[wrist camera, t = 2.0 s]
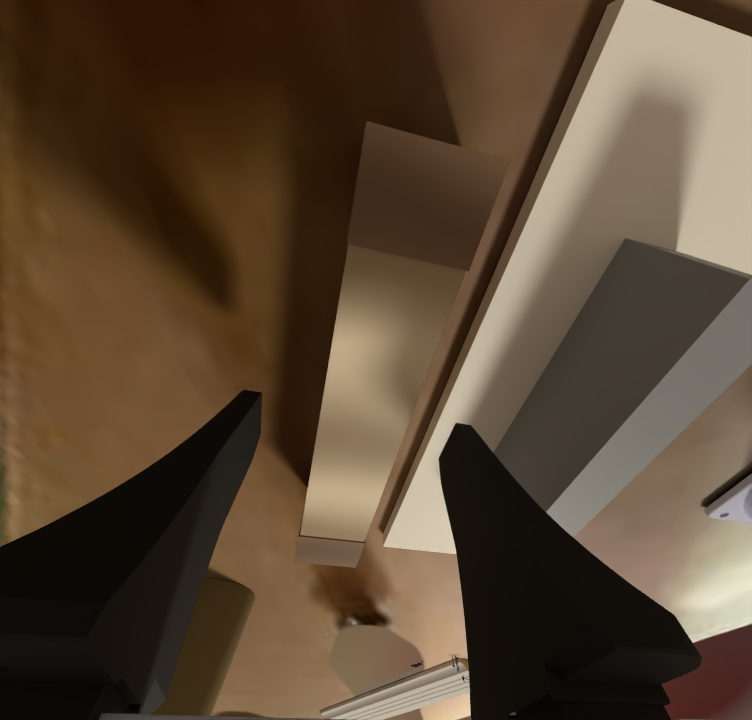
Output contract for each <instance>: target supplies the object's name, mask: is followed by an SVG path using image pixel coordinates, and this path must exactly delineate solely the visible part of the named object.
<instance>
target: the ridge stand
mask: <svg viewBox="0 0 752 720" xmlns="http://www.w3.org/2000/svg"><path fill="white" fill-rule="evenodd" d="M751 364H752V37H750V36H747V35H745V34H742V33H739V32H736V31H734V30H731V29H728V28H725V27H723V26H720V25H717V24H714V23H712V22H709V21H706V20H704V19H701V18H698V17H695V16H693V15H690V14H687V13H684V12H682V11H679V10H676V9H673V8H671V7H668V6H665V5H662V4H660V3H657V2H654V1H652V0H615V1H613V2H612V3H610V4H609V5H607V8H606V10H605V12H604V15H603V17H602V19H601V22H600V24H599V26H598V29H597V31H596V34H595V36H594V38H593V41H592V43H591V45H590V48H589V50H588V52H587V55H586V57H585V59H584V62H583V64H582V66H581V69H580V71H579V74H578V76H577V78H576V81H575V83H574V85H573V88H572V90H571V92H570V95H569V97H568V99H567V102H566V104H565V106H564V109H563V111H562V114H561V116H560V118H559V121H558V123H557V125H556V128H555V130H554V132H553V135H552V137H551V139H550V142H549V144H548V147H547V149H546V151H545V154H544V156H543V158H542V161H541V163H540V165H539V168H538V170H537V172H536V175H535V177H534V179H533V182H532V184H531V187H530V189H529V191H528V194H527V196H526V198H525V201H524V203H523V205H522V208H521V210H520V212H519V215H518V217H517V219H516V222H515V224H514V227H513V229H512V231H511V234H510V236H509V238H508V241H507V243H506V245H505V248H504V250H503V252H502V255H501V257H500V259H499V262H498V264H497V267H496V269H495V271H494V274H493V276H492V278H491V281H490V283H489V285H488V288H487V290H486V292H485V295H484V297H483V299H482V302H481V304H480V307H479V309H478V311H477V314H476V316H475V318H474V321H473V323H472V325H471V328H470V330H469V332H468V335H467V337H466V340H465V342H464V344H463V347H462V349H461V351H460V354H459V356H458V358H457V361H456V363H455V365H454V368H453V370H452V372H451V375H450V377H449V380H448V382H447V384H446V387H445V389H444V391H443V394H442V396H441V398H440V401H439V403H438V405H437V408H436V410H435V412H434V415H433V417H432V420H431V422H430V424H429V427H428V429H427V431H426V434H425V436H424V438H423V441H422V443H421V445H420V448H419V450H418V452H417V455H416V457H415V460H414V462H413V464H412V467H411V469H410V471H409V474H408V476H407V478H406V481H405V483H404V485H403V488H402V490H401V493H400V495H399V497H398V500H397V502H396V504H395V507H394V509H393V511H392V514H391V516H390V518H389V521H388V523H387V525H386V528H385V530H384V533H383V547H393V548H402V549H412V550H422V551H432V552H441V553H451V554H456V548H455V543H454V539H453V535H452V530H451V526H450V522H449V517H448V513H447V509H446V504H445V500H444V496H443V491H442V486H441V479H440V470H439V456H440V454H441V452H442V450H443V448H444V446H445V444H446V442H447V440H448V438H449V436H450V434H451V432H452V430H453V427H454V425H455V423H461V424H467V425H471V426H472V427H473V428H474V429H475V430H476V432H477V433H478V434H479V435H480V437H481V438H482V439H483V440H484V442H485V443H486V444H487V445H488V447H489V448H490V449H491V450H492V452H493V453H494V454H495V455H496V457H497V458H498V459H499V460H500V462H501V463H502V464H503V465H504V466H505V468H506V469H507V470H508V471H509V472H510V474H511V475H512V476H513V477H514V478H515V479H516V481H517V482H518V483H519V484H520V485H521V486H522V487H523V488H524V490H525V491H526V492H527V493H528V494H529V495H530V496H531V497H532V498H533V499H534V500H535V501H536V503H537V504H538V505H539V506H540V507H541V508H542V509H543V510H544V511H545V512H546V513H547V514H548V515H549V516H551V517H552V518H553V519H554V520H555V521H556V522H557V523H558V524H559V525H560V526H561V527H562V528H563V529H564V530H565V531H566V532H567V533H569V534H570V535H571V536H572V537H574V536H575V535H576V534H577V533H578V532H579V531H580V530H581V529H582V528H583V527H584V526H585V525H586V524H587V523H588V522H589V521H590V520H591V519H592V518H593V517H595V516H596V515H597V514H598V513H599V512H600V511H601V510H602V509H603V508H604V507H605V506H606V505H607V504H608V503H609V502H610V501H611V500H612V499H613V498H614V497H615V496H616V495H617V494H618V493H619V492H620V491H621V490H622V489H623V488H624V487H625V486H626V485H627V484H628V483H630V482H631V481H632V480H633V479H634V478H635V477H636V476H637V475H638V474H639V473H640V472H641V471H642V470H643V469H644V468H645V467H646V466H647V465H648V464H649V463H650V462H651V461H652V460H653V459H654V458H655V457H656V456H657V455H658V454H659V453H660V452H661V451H662V450H663V449H665V448H666V447H667V446H668V445H669V444H670V443H671V442H672V441H673V440H674V439H675V438H676V437H677V436H678V435H679V434H680V433H681V432H682V431H683V430H684V429H685V428H686V427H687V426H688V425H689V424H690V423H691V422H692V421H693V420H694V419H695V418H696V417H697V416H698V415H700V414H701V413H702V412H703V411H704V410H705V409H706V408H707V407H708V406H709V405H710V404H711V403H712V402H713V401H714V400H715V399H716V398H717V397H718V396H719V395H720V394H721V393H722V392H723V391H724V390H725V389H726V388H727V387H728V386H729V385H730V384H731V383H732V382H734V381H735V380H736V379H737V378H738V377H739V376H740V375H741V374H742V373H743V372H744V371H745V370H746V369H747V368H748V367H749V366H750V365H751Z"/></svg>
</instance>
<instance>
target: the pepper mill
mask: <svg viewBox="0 0 752 720" xmlns="http://www.w3.org/2000/svg"><path fill="white" fill-rule="evenodd" d="M254 601H255V595H254V594H253V593H252V591H251V590H250V589H248V588H246V587H245V586H243V585H240V584H238V583H235V582H232V581H227V580H222V579H204V581H203V584H202V587H201V590H200V593H199V596H198V599H197V602H196V605H195V608H194V611H193V614H192V617H191V620H190V624H189V627H188V630H187V633H186V636H185V639H184V642H183V646H182V649H181V652H180V656H179V659H178V662H177V665H176V669H175V672H174V675H173V679H172V682H171V685H170V689H169V692H168V695H167V699H166V700H165V701H164V702H163V703H162V704H161V705H160V707H158V708H157V709H156V710H155V711H154V712H153V713H151V714H152V715H192V716H211V714H212V711H213V708H214V706H215V703H216V701H217V698H218V695H219V693H220V690H221V687H222V685H223V682H224V680H225V677H226V674H227V672H228V669H229V666H230V664H231V661H232V658H233V656H234V653H235V651H236V648H237V645H238V643H239V640H240V637H241V635H242V632H243V630H244V627H245V624H246V622H247V619H248V616H249V614H250V611H251V608H252V606H253V603H254Z"/></svg>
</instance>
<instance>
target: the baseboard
mask: <svg viewBox="0 0 752 720" xmlns="http://www.w3.org/2000/svg"><path fill="white" fill-rule="evenodd" d="M455 658H457V657H455ZM452 659H453V656H452ZM421 662H424V661H421ZM420 665H423V663H418V664H414V665H411V666H412V667H418V666H420ZM467 693H470V685H469V668H468V661H467V660H463V659H460V658H457V659H455V660H452V661H449V662H447V663H444V664H442V665H439V666H436V667H434V668H431V669H428V670H426V671H425V666H422V667H419V668H417V669H414V670H412V671H409V672H407V673H404V674H401V675H399V676H396V677H394V678H391V679H389V680H386V681H384V682H381V683H379V684H376V685H373V686H371V687H368V688H366V689H363V690H361V691H358V692H355V693H353V695H354V696H355V698H352V699H350V700H347V701H344V702H342V703H339V704H337V705H334V706H331V707H329V708H326V709H323V710H321V711H320V714H322V715H323V716H324V717H325V719H350V720H383V719H386V718H389V717H392V716H396V715H398V714H402V713H405V712H408V711H412V710H415V709H418V708H421V707H425V706H428V705H431V704H434V703H438V702H441V701H444V700H447V699H451V698H454V697H457V696H460V695H464V694H467Z"/></svg>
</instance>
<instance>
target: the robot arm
mask: <svg viewBox="0 0 752 720" xmlns="http://www.w3.org/2000/svg"><path fill="white" fill-rule="evenodd" d="M261 406H262V393H261V392H254V391H248V390H243V391H242V392H240V393H239V394H238V395H237V396H236V397H235V398H234V399H233V400H232V401H231V402H230V403H229V404H228V405H227V406H226V407H224V408H223V409H222V410H221V411H220V412H219V413H218V414H217V415H216V416H214V417H213V418H212V419H211V420H210V421H209V422H207V423H206V424H205V425H204V426H203V427H202V428H200V429H199V430H198V431H197V432H196V433H194V434H193V435H192V436H190V437H189V438H188V439H187V440H185V441H184V442H183V443H181V444H180V445H179V446H178V447H176V448H175V449H174V450H172V451H171V452H170V453H168V454H167V455H165V456H164V457H163V458H161V459H160V460H158V461H157V462H155V463H154V464H152V465H151V466H149V467H148V468H146V469H145V470H143V471H142V472H140V473H139V474H137V475H136V476H134V477H132V478H131V479H129V480H127V481H126V482H124V483H123V484H121V485H119V486H118V487H116V488H114V489H113V490H111V491H109V492H108V493H106V494H104V495H102V496H101V497H99V498H97V499H95V500H93V501H92V502H90V503H88V504H86V505H84V506H82V507H80V508H78V509H77V510H75V511H73V512H71V513H69V514H67V515H65V516H63V517H62V518H60V519H58V520H56V521H54V522H52V523H50V524H48V525H46V526H44V527H42V528H40V529H38V530H36V531H34V532H32V533H29V534H27V535H25V536H23V537H21V538H19V539H16V540H14V541H12V542H10V543H8V544H6V545H3V546H1V547H0V720H350V719H310V718H271V717H231V716H192V715H152V714H151V713H153V712H154V711H155V710H156V709H157V708H158V707H160V705H161V704H162V703H163V702H164V701H165V700H166V699H167V695H168V692H169V689H170V685H171V682H172V679H173V675H174V672H175V669H176V665H177V662H178V659H179V656H180V652H181V649H182V646H183V642H184V639H185V636H186V633H187V630H188V627H189V624H190V620H191V617H192V614H193V611H194V608H195V605H196V602H197V599H198V596H199V593H200V590H201V587H202V584H203V581H204V578H205V575H206V572H207V569H208V566H209V563H210V560H211V557H212V554H213V551H214V548H215V546H216V543H217V540H218V537H219V534H220V532H221V529H222V527H223V524H224V522H225V519H226V517H227V515H228V513H229V511H230V508H231V506H232V504H233V502H234V500H235V497H236V495H237V493H238V491H239V489H240V486H241V484H242V482H243V480H244V477H245V475H246V473H247V471H248V468H249V466H250V464H251V462H252V459H253V456H254V453H255V450H256V447H257V444H258V440H259V437H260V434H261ZM439 470H440V479H441V486H442V491H443V496H444V500H445V504H446V509H447V513H448V517H449V522H450V526H451V530H452V535H453V539H454V543H455V548H456V554H457V559H458V567H459V574H460V582H461V590H462V599H463V608H464V617H465V628H466V640H467V652H468V668H469V685H470V706H471V719H472V720H671V719H670V717H669V715H668V713H667V711H666V709H665V708H664V706H663V705H668V704H670V702H669V698H668V696H667V694H666V693H665V691H664V689H663V687H662V685H661V684H662V683H665V682H668V681H670V680H672V679H675V678H677V677H680V676H682V675H684V674H687V673H689V672H691V671H693V670H695V669H696V668H697V667H699V666H700V663H701V659H702V657H701V655H700V654H699V652H698V651H697V649H696V648H695V646H694V644H693V643H692V641H691V640H690V638H689V637H688V635H687V634H686V632H685V631H684V629H683V628H682V626H681V625H680V623H679V621H678V620H677V618H676V617H675V616H674V615H673V614H672V613H671V612H669V611H668V610H666V609H665V608H664V607H662V606H661V605H659V604H658V603H656V602H655V601H654V600H652V599H651V598H649V597H648V596H647V595H645V594H644V593H642V592H641V591H640V590H638V589H637V588H635V587H634V586H632V585H631V584H630V583H628V582H627V581H626V580H624V579H623V578H622V577H621V576H619V575H618V574H617V573H615V572H614V571H613V570H612V569H610V568H609V567H608V566H606V565H605V564H604V563H603V562H601V561H600V560H599V559H598V558H597V557H595V556H594V555H593V554H592V553H590V552H589V551H588V550H587V549H586V548H585V547H583V546H582V545H581V544H580V543H579V542H578V541H577V540H575V539H574V538H573V537H572V536H571V535H570V534H569V533H567V532H566V531H565V530H564V529H563V528H562V527H561V526H560V525H559V524H558V523H557V522H556V521H555V520H554V519H553V518H552V517H551V516H549V515H548V514H547V513H546V512H545V511H544V510H543V509H542V508H541V507H540V506H539V505H538V504H537V503H536V501H535V500H534V499H533V498H532V497H531V496H530V495H529V494H528V493H527V492H526V491H525V490H524V488H523V487H522V486H521V485H520V484H519V483H518V482H517V481H516V479H515V478H514V477H513V476H512V475H511V474H510V472H509V471H508V470H507V469H506V468H505V466H504V465H503V464H502V463H501V462H500V460H499V459H498V458H497V457H496V455H495V454H494V453H493V452H492V450H491V449H490V448H489V447H488V445H487V444H486V443H485V442H484V440H483V439H482V438H481V437H480V435H479V434H478V433H477V432H476V430H475V429H474V428H473V427H472V426H471V425H467V424H461V423H455V425H454V427H453V430H452V432H451V434H450V436H449V438H448V440H447V442H446V444H445V446H444V448H443V450H442V452H441V454H440V456H439ZM704 512H705V513H706V515H707V516H708V517H710V518H714V519H722V520H729V521H737V522H744V523H752V473H751V474H750V475H749V476H747V477H746V478H745V479H744V480H742V481H741V482H740V483H738V484H737V485H736V486H734V487H733V488H732V489H730V490H729V491H728V492H726V493H725V494H724V495H722V496H721V497H720V498H718V499H717V500H716V501H714V502H713V503H712V504H710V505H709V506H708V507H706V508H705V510H704ZM680 720H700V719H680ZM702 720H703V719H702Z"/></svg>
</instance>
